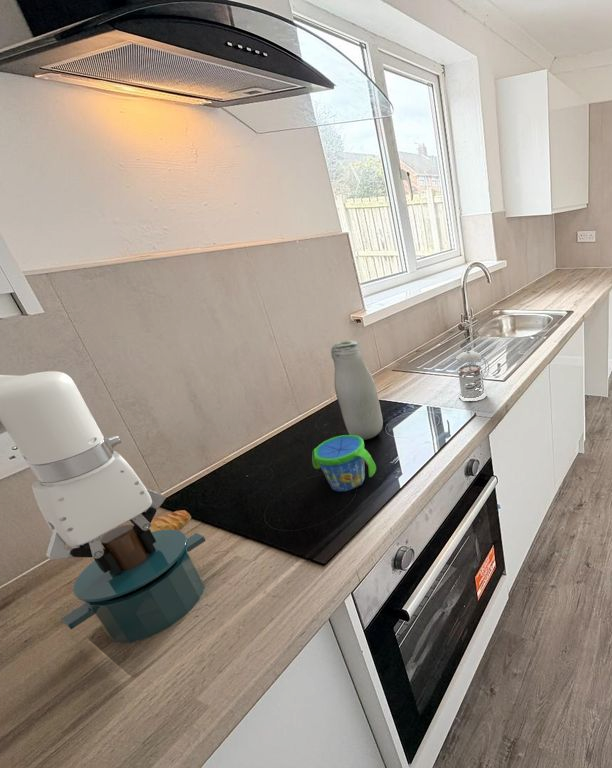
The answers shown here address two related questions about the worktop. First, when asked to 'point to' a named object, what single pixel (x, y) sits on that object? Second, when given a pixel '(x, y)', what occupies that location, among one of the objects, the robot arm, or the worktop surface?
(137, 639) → the pot
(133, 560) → the lid
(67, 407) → the robot arm
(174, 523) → the pastry
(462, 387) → the french press
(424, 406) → the worktop surface
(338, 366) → the glass bottle
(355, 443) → the snack cup
